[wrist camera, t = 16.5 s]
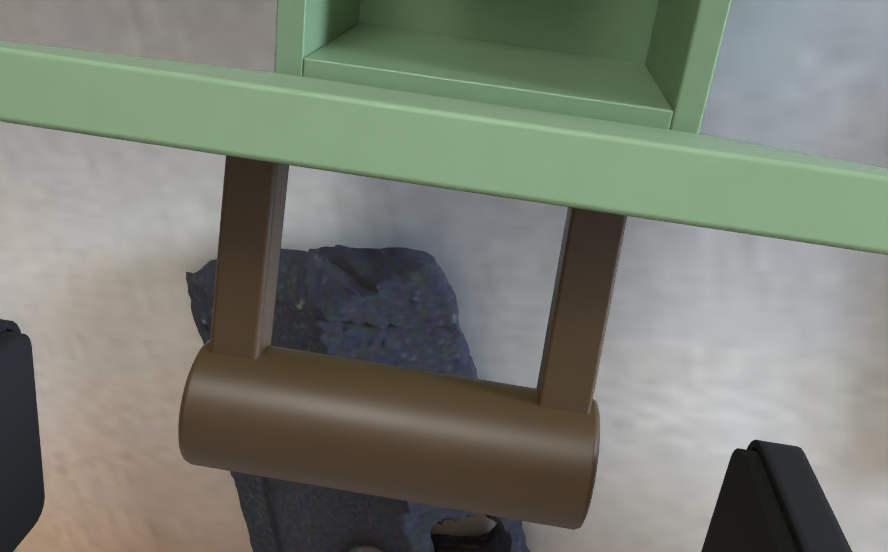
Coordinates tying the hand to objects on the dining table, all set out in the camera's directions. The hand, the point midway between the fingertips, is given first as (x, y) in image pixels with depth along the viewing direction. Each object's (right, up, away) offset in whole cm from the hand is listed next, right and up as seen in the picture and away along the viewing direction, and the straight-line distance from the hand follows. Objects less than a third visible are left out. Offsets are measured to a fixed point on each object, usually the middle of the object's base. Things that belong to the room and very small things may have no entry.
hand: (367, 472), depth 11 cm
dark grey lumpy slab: (-3, -5, +32) cm, 33 cm away
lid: (+1, +6, +6) cm, 9 cm away
